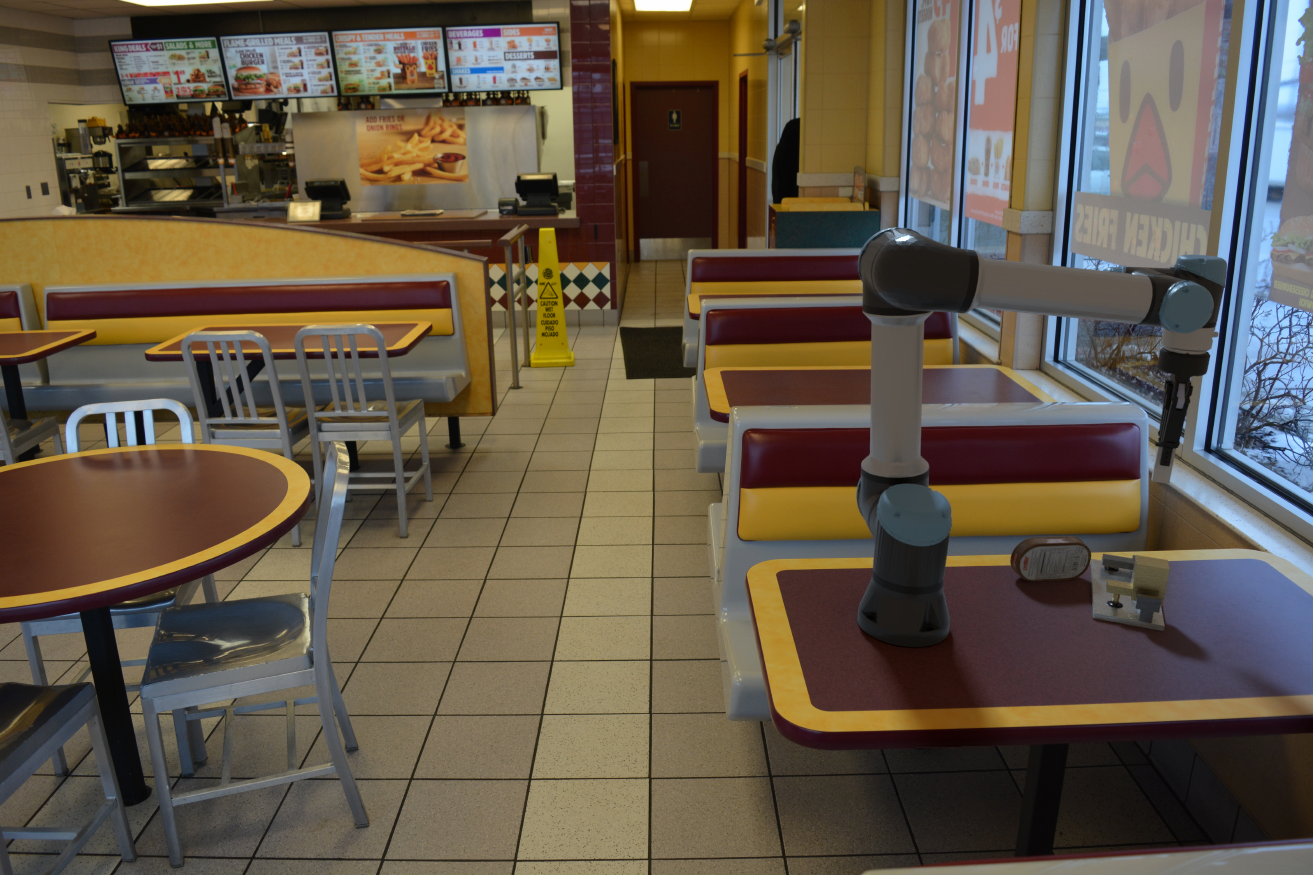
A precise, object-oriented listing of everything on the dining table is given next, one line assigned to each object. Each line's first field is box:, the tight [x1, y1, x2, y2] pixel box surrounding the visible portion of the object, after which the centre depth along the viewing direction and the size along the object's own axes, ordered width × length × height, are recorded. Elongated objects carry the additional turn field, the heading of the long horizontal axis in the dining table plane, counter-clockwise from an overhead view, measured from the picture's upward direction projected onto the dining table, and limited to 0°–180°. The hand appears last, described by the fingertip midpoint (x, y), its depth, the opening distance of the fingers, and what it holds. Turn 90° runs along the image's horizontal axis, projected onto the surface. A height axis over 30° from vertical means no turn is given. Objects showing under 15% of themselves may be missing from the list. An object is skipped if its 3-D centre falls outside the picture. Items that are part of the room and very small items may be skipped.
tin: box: [1009, 535, 1092, 583], centre depth 179 cm, size 15×3×8 cm, turn 97°
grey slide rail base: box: [1101, 553, 1162, 624], centre depth 173 cm, size 8×24×5 cm, turn 158°
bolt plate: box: [1090, 558, 1166, 632], centre depth 174 cm, size 11×24×1 cm, turn 158°
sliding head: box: [1106, 554, 1171, 607], centre depth 166 cm, size 9×4×9 cm, turn 68°
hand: (1160, 480), depth 167 cm, fingers closed
